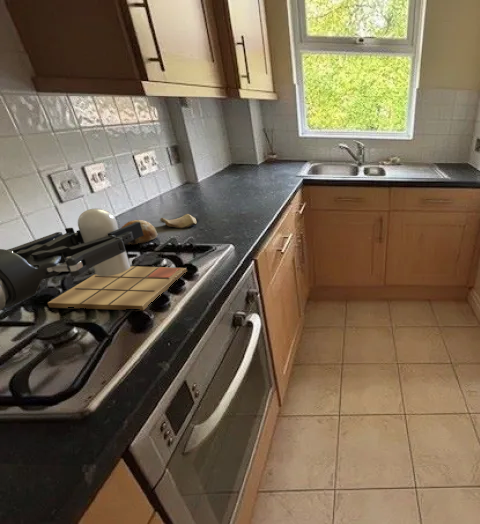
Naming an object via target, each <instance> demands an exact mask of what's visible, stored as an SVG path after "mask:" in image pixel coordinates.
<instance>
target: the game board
mask: <svg viewBox="0 0 480 524" xmlns="http://www.w3.org/2000/svg"><path fill="white" fill-rule="evenodd" d="M186 272H187V273H188V269H187V267H167V266H166V267H164V266H138V265H134V266H133V265H130V268H129V269H128V270H126V271H124V272H122V273H119V274H115V275H110V276H99V275H96V274H95V273H94V274H93V275H91V276H90V277H88V278H86V279H85V280H83V281H81V282H79V283H77V284H76V285H75V286H73V287H72V288H69V289H68V290H66V291H64V292H63V293H61V294H59V295H58V296H57V297H55V298H53V299H51V300H50V301H47V305H48V308H51V309H69V308H68V307H74V308H73V309H80V308H84V309H83V310H113V311H114V310H115V311H116V310H117V311H127V310H126V309H140V310H139V311H145V310H146V309H147V308H148V307H149V306H150V305H151V304H152V303H151V302H153V301H154V300H155V299H156V298H157V297H158V296H159V295H160V296H162V295H163V294H164V293H165V292H166V291H168V290H169V289H170V288H171V287H172V286H173V285H174V284H175V283H176V282H177V281H179V280H180V279H181V278H182V277H183V276H184V275H185V274H187V273H186ZM184 273H185V274H184ZM183 274H184V275H183ZM182 275H183V276H182ZM181 276H182V277H181ZM180 277H181V278H180ZM179 278H180V279H179ZM178 279H179V280H178ZM176 280H177V281H176ZM175 281H176V282H175ZM174 282H175V283H174ZM173 283H174V284H173ZM172 284H173V285H172ZM171 285H172V286H171ZM170 286H171V287H170ZM169 287H170V288H169ZM163 292H164V293H163ZM162 293H163V294H162ZM161 294H162V295H161ZM160 296H159V297H160ZM159 297H158V298H159ZM158 298H157V299H158ZM157 299H156V300H157ZM156 300H155V301H156ZM155 301H154V302H155ZM154 302H153V303H154ZM150 303H151V304H150ZM149 304H150V305H149ZM148 305H149V306H148ZM85 308H86V309H85Z"/></svg>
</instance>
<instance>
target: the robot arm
mask: <svg viewBox="0 0 480 524" xmlns="http://www.w3.org/2000/svg"><path fill="white" fill-rule="evenodd" d="M64 231H65V233H63V232H62V231H56V232H53V233H52V234H49V235H45V236H43V237H40V238H37V239H34V240H31V241H29V242H25V243H22V244H20V245H17V246H14V247H11V248H8V249H4V248H0V311H2V310H3V309H4V308H10V307H11V306H14V305H16V304H18V303H20V302H22V301H24V300H27V299H28V298H30V297H33V296H34V295H35V294H36V293H37V292H38V291H39V288H40V285H41V283H42V281H43V280H46V279H50V278H53V277H57V276H58V275H60V273H63V272H69V274H70V277H76V276H77V277H78V276H80V275H82V274H83V273H85V271H87V270H88V269H91V268H93V266H95V265H97V264H99V263H101V262H104V261H106V260H108V259H110V258H112V257H114V256H117V255H119V254H121V253H123V252H125V251H126V252H127V250H126V247H125V245H127V244H126V243H129V242H131V241H133V240H135V239H137V238H139V237H142V236H144V234H143V231H142V227H141V224H140V222H135V223H133V224H130V225H128V226H125V227H123V228H122V227H120V228H119V229H118V230H115V231H113V232H110V233H108V236H106V237H103V238H100V239H96V240H93V241H90V242H86V243H84V241H83V238H82V236H81V233H80V230H79V229H77V230H76V231H75V229H74V227H66V228H64ZM64 258H65V259H64Z"/></svg>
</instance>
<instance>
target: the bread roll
mask: <svg viewBox="0 0 480 524" xmlns="http://www.w3.org/2000/svg"><path fill="white" fill-rule="evenodd" d="M135 222H140V224H141V227H142V231H143V234H144V236H142V237H139V238H137V239H135V240H133V241H131V242H129V243H126V244H125V245H130V244H131V245H139V244H138V243H141V244H145V243H146V242H147V243H148V242H150V241H151V242H152V241H154V240H155V239H157V237H158V236H159V234H158V232H157V229H156V227H155V226H153V224H152V223H150V222H149V221H146V220H142V219H134V220H133V219H132V220H129V221H127V222H126V223H125V224H124V225H122V226H121V228H123V227H125V226H128V225H130V224H133V223H135Z"/></svg>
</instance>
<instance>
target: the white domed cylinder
mask: <svg viewBox="0 0 480 524" xmlns="http://www.w3.org/2000/svg"><path fill="white" fill-rule="evenodd" d="M77 228H78V230H80V233H81V236H82V238H83V241H84V243H86V242H90V241H93V240H96V239H100V238H103V237H106V236H108V233H110V232H113V231H115V230H118V229H120V228H119V225H118V221H117V219H116V217H115V216H114V215H113V213H111V212H109V211H108V210H107V209H103V208H96V207H95V208H89V209H87V210H84V211H83V212H82V213H81V214H80V215H79V216H78V218H77ZM130 266H131V263H130V259H129V256H128V254H127V250H126V251H125V252H123V253H121V254H119V255H117V256H114V257H112V258H110V259H108V260H106V261H104V262H101V263H99V264H97V265H95V266H93V267H92V268H93V270H94V275H95V274H96V275H99V276H110V275H115V274H119V273H122V272H124V271H126V270H128V269H129V268H130Z"/></svg>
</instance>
